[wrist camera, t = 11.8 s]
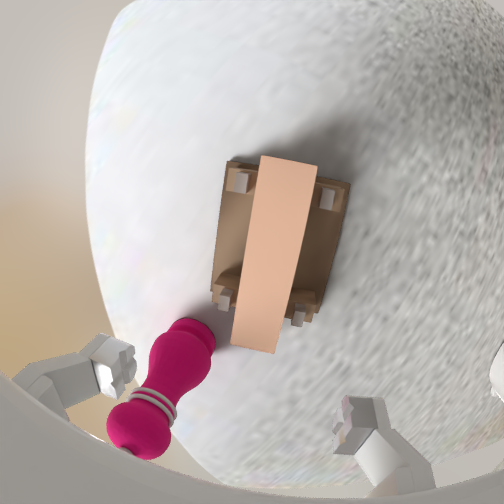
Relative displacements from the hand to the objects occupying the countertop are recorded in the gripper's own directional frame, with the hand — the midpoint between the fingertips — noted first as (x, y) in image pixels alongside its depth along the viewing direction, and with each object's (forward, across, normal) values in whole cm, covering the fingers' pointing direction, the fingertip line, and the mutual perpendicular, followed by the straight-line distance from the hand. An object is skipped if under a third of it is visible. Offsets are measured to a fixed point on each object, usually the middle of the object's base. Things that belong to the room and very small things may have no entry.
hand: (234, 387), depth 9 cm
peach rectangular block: (+17, 0, 0) cm, 17 cm away
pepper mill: (+21, +8, +15) cm, 27 cm away
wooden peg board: (+21, 0, 0) cm, 21 cm away
